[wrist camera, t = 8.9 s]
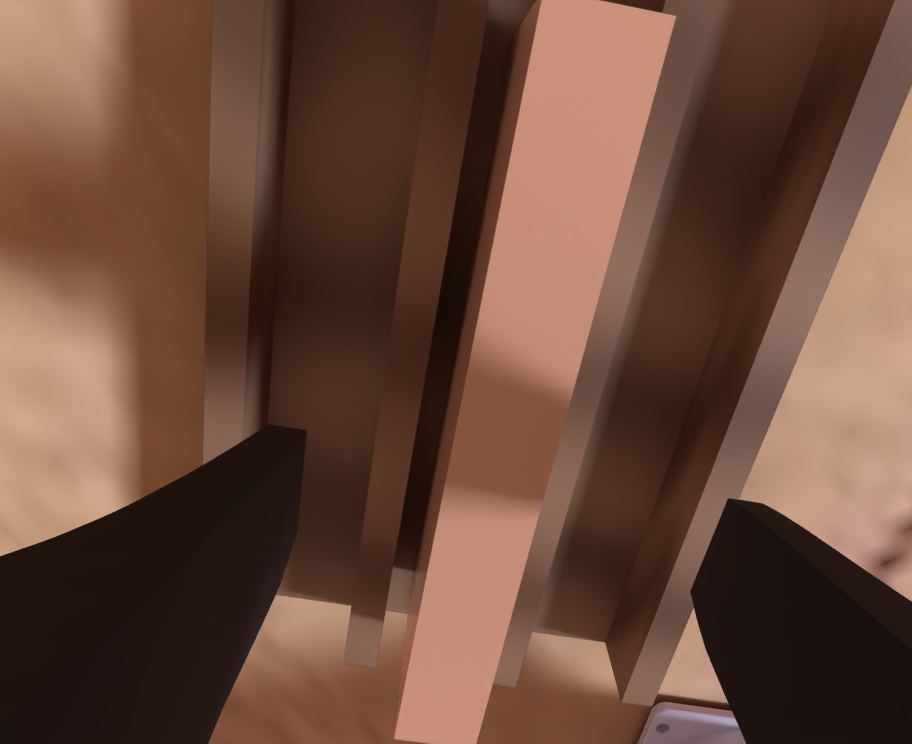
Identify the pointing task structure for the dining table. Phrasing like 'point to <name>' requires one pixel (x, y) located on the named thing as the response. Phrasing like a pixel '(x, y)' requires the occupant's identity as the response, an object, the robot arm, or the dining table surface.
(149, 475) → the dining table surface
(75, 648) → the robot arm
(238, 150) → the slatted brown panel
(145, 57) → the dining table surface
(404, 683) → the clay strip
